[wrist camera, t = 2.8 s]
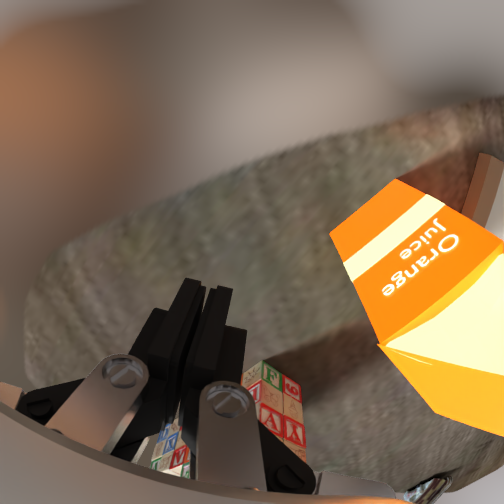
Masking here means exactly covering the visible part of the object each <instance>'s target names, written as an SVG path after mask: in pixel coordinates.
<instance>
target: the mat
mask: <svg viewBox="0 0 504 504" xmlns="http://www.w3.org/2000/svg"><path fill="white" fill-rule="evenodd" d="M461 214H462V215H463V216H465V217H467V218H468V219H470V220H472V221H473V222H475V223H476V224H478V225H480V226H481V227H483V228H484V229H486V230H487V231H489V232H491V233H492V234H494V235H495V236H497V237H498V238H500V239H502V240H503V241H504V163H503V162H502V161H500V160H498V159H497V158H495V157H493V156H492V155H488V154H484V153H480V152H479V156H478V160H477V163H476V167H475V171H474V174H473V177H472V181H471V184H470V187H469V191H468V194H467V197H466V200H465V203H464V206H463V209H462V212H461Z"/></svg>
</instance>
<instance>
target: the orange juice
mask: <svg viewBox="0 0 504 504" xmlns="http://www.w3.org/2000/svg"><path fill="white" fill-rule="evenodd" d="M329 234H330V236H331V238H332V240H333V242H334V244H335V246H336V248H337V250H338V252H339V254H340V256H341V258H342V260H343V262H344V263H343V264H344V266H345V268H346V270H347V272H348V274H349V277H350V279H351V281H352V282H353V283H354V286H355V288H356V290H357V292H358V294H359V296H360V299H361V301H362V303H363V305H364V307H365V310H366V312H367V314H368V317H369V319H370V321H371V323H372V326H373V328H374V330H375V333H376V335H377V337H378V340H379V342H380V344H381V345H379V344H377V345H378V346H379V347H380V348H381V349H382V350H383V351H384V353H385V354H386V355H387V356H388V357H389V358H390V360H391V361H392V362H393V363H394V364H395V365H396V367H397V368H398V369H399V370H400V371H401V372H402V374H403V375H404V376H405V377H406V378H407V379H408V381H409V382H410V383H411V384H412V385H413V387H414V388H415V389H416V390H417V391H418V392H419V394H420V395H421V396H422V397H423V398H424V400H425V401H426V402H427V403H428V404H429V406H430V407H431V408H432V409H433V410H434V412H435V413H438V414H440V415H443V416H446V417H448V418H451V419H454V420H457V421H459V422H462V423H465V424H468V425H471V426H474V427H476V428H479V429H482V430H485V431H488V432H491V433H494V434H498V435H501V436H504V241H503V240H502V239H500V238H498V237H497V236H495V235H494V234H492V233H491V232H489V231H487V230H486V229H484V228H483V227H481V226H480V225H478V224H476V223H475V222H473V221H472V220H470V219H468V218H467V217H465V216H463V215H462V214H460V213H458V212H456V211H455V210H453V209H451V208H450V207H448V206H446V205H445V204H444V203H442V202H441V201H439V200H437V199H435V198H433V197H431V196H430V195H428V194H424V193H422V192H420V191H419V190H417V189H415V188H413V187H411V186H409V185H407V184H405V183H403V182H401V181H399V180H397V179H394V180H393V181H392V182H391V183H389V184H388V185H387V186H386V187H385V188H384V189H382V190H381V191H380V192H379V193H378V194H376V195H375V196H374V197H373V198H372V199H370V200H369V201H368V202H367V203H366V204H364V205H363V206H362V207H361V208H360V209H358V210H357V211H356V212H355V213H354V214H352V215H351V216H350V217H349V218H347V219H346V220H345V221H344V222H343V223H341V224H340V225H339V226H338V227H336V228H335V229H334V230H333V231H332V232H330V233H329Z"/></svg>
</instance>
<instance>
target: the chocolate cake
mask: <svg viewBox="0 0 504 504" xmlns="http://www.w3.org/2000/svg"><path fill="white" fill-rule="evenodd" d="M451 483H452V477H451V476H447V477H446V478H444V479H437V478H434V479H432V480H431V481H429V482H427V483H425V484H423V485H417V486H416V489H414V490H412V491H406V493H405V494H404V500H405V501H408V502H411V503H415V504H434V503H435V501H436V500H437V499H438V498H439V497H440V496H441V495H442V494H443V493H444V491H445V490H447V489H448V487H449V486H450V485H451Z"/></svg>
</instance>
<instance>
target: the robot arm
mask: <svg viewBox="0 0 504 504" xmlns="http://www.w3.org/2000/svg"><path fill="white" fill-rule="evenodd" d="M205 292H206V287H205V286H201V281H198V280H194V279H190V278H185V280H184V282H183V283H182V285H181V287H180V289H179V291H178V293H177V295H176V297H175V299H174V301H173V303H172V305H171V307H170V309H169V311H166V310H163V309H159V308H154V309H153V311H152V313H151V314H150V316H149V318H148V319H147V321H146V323H145V325H144V327H143V328H142V330H141V332H140V334H139V335H138V337H137V339H136V341H135V343H134V344H133V346H132V348H131V350H130V352H129V353H128V354H114V355H110V356H108V357H106V358H104V359H103V360H102V361H101V362H100V363H99V364H98V365H97V366H96V367H95V368H94V369H93V371H92V372H91V373H90V374H89V375H88V376H87V377H86V378H83V379H79V380H75V381H71V382H67V383H63V384H58V385H54V386H50V387H45V388H41V389H36V390H33V391H31V392H28V393H25V392H24V391H23V389H22V388H19V387H16V386H12V385H9V384H6V383H3V382H0V504H415V503H411V502H408V501H405V500H399V499H396V495H395V492H394V491H393V489H392V488H391V487H390V486H389V485H387V484H386V483H383V482H380V481H373V480H367V479H362V478H356V477H351V476H346V475H341V474H337V473H332V472H328V471H324V470H323V471H322V472H321V473H319V472H315V471H313V470H312V469H311V468H310V467H309V466H308V465H307V464H306V463H305V462H304V461H303V460H302V459H301V458H299V457H298V456H297V455H296V454H295V453H294V452H293V451H292V450H290V449H289V448H288V447H287V446H286V445H285V444H284V443H283V442H282V441H281V440H279V439H278V438H277V437H276V436H275V435H274V434H273V433H272V432H271V431H270V430H269V429H268V428H267V427H266V426H265V425H264V424H263V423H261V422H260V421H259V420H258V419H257V412H256V405H255V401H254V398H253V396H252V394H251V393H250V392H249V391H248V390H247V389H246V388H245V387H243V386H242V385H241V378H242V369H243V361H244V353H245V344H246V336H247V330H245V329H240V328H236V327H231V326H227V325H225V323H226V319H227V314H228V310H229V305H230V301H231V296H232V292H233V289H232V288H227V287H223V286H219V285H218V286H217V289H213V288H211V289H210V292H209V294H208V297H207V300H206V303H205V306H204V309H203V303H204V297H205ZM202 309H203V312H202ZM180 399H181V400H180ZM179 402H180V409H179V418H178V426H181V427H182V431H181V439H182V440H183V441H184V443H185V444H186V445H187V447H188V448H189V449H190V454H189V479H188V478H184V477H180V476H176V475H172V474H168V473H164V472H161V471H157V470H154V469H150V468H147V467H144V466H140V465H137V464H136V463H137V461H138V459H139V457H140V456H141V453H142V452H143V450H144V448H145V447H146V445H147V443H148V440H149V438H150V436H151V435H154V434H157V433H159V432H160V430H161V431H164V430H165V427H166V424H167V423H170V424H173V422H174V419H175V415H176V412H177V409H178V405H179Z"/></svg>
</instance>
